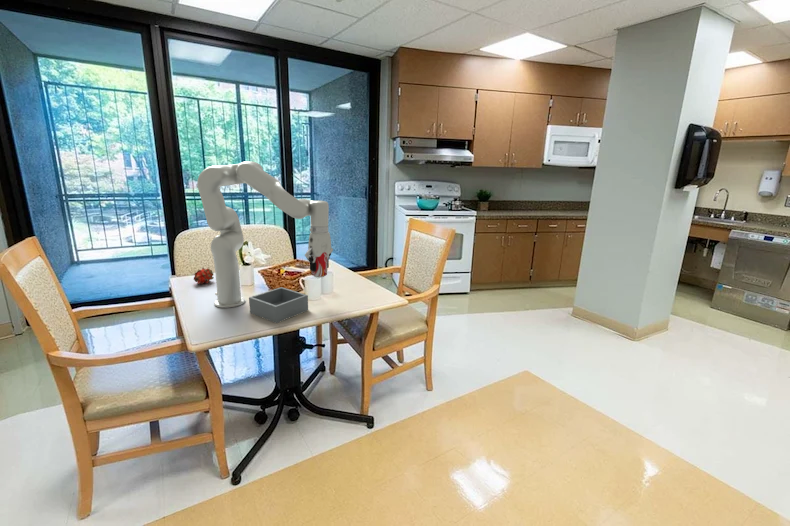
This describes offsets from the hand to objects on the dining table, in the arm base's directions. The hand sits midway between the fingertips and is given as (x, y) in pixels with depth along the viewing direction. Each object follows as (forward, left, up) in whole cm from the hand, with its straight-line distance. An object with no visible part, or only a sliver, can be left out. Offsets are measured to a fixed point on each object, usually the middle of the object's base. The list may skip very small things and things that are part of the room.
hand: (319, 268), depth 162 cm
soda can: (0, 0, -3) cm, 3 cm away
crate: (-8, -17, -17) cm, 25 cm away
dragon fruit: (-68, -16, -17) cm, 71 cm away
